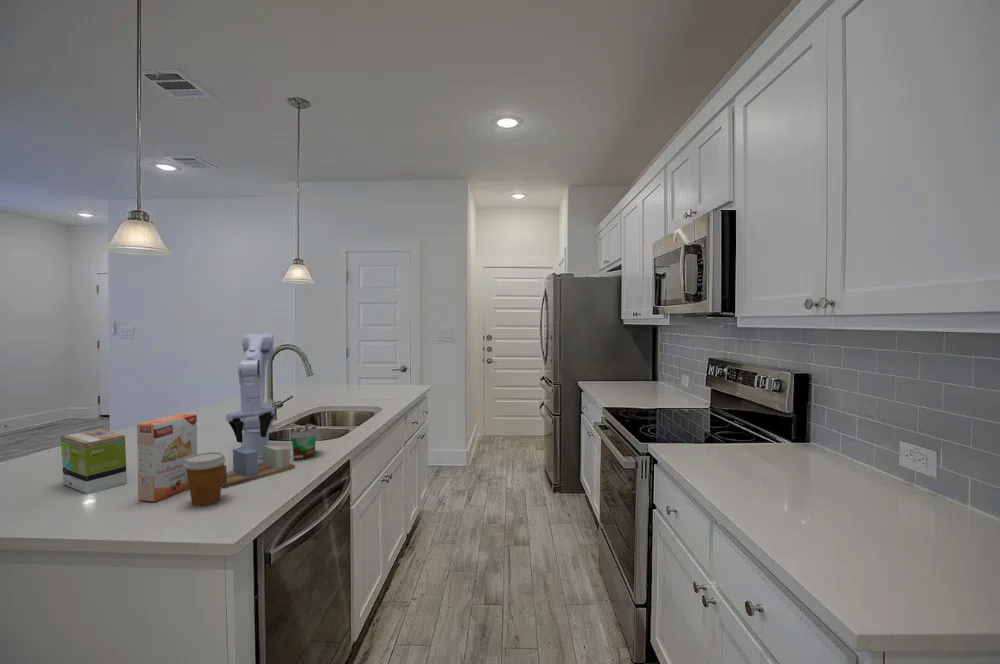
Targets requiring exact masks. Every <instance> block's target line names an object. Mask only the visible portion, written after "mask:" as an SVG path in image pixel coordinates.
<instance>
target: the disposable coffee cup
mask: <svg viewBox="0 0 1000 664" xmlns="http://www.w3.org/2000/svg"><path fill="white" fill-rule="evenodd" d="M226 461H227V457H225V455H224V453H223V452H219V451H211V452H202V453H197V454H196V455H193V456H190V457H188V458H186V461H185V463H184V467H185V468H186V472H187V477H188V482H189V488H188V489H189V494H190V500H191V504H192V505H193V506H195V505H198V506H197V507H200V506H199V505H205V506H209V505H208V504H210V505H213V504H216V503H218V502H219V501H220V500H221V492H222V488H221V485H222V476H223V467H224V465H225V462H226ZM218 500H219V501H218ZM217 501H218V502H217ZM215 502H216V503H215ZM212 503H213V504H212Z"/></svg>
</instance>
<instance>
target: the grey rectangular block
mask: <svg viewBox="0 0 1000 664" xmlns="http://www.w3.org/2000/svg"><path fill="white" fill-rule="evenodd" d="M232 464H233V465H232V467H233V468H232V469H233V472H235V473H237V474H240V475H242V476H245V477H249V476H253V475H256V474H258V465H259V458H258V451H255V450H252V449H249V448H246V447H242V448H241V447H238V448H232Z"/></svg>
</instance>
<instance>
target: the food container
mask: <svg viewBox="0 0 1000 664" xmlns="http://www.w3.org/2000/svg"><path fill="white" fill-rule="evenodd" d="M318 433H319V431H318V427H317V425H315V424H311V423H306V424H305V427H303V428H300V429H298V430H297V431H291V435H290V439H291V440H292V441H291V443H292V454H293V458H292V459H293V461H303V459H304V460H308V458H309V459H312V458H314V457H315V456H316V440H317V439H316V438H317V434H318ZM314 455H315V456H314ZM313 456H314V457H313ZM311 457H312V458H311Z"/></svg>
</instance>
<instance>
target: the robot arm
mask: <svg viewBox="0 0 1000 664" xmlns="http://www.w3.org/2000/svg"><path fill="white" fill-rule="evenodd" d="M241 341H242V342H241V343H242V350H243V356H242V360H241V361H238V362H237V363H238V364H237V374H238V382H239V384H240V411H236V412H232V413H228V414H225V421H227V423H228V424H229V426H230V427H231V429H232V431H233V434H234V435H235V439H236V440H235V441H236V442H237V443H239V444H240V448H242V447H246V448H249V449H252V450H255V451H258V459H263V446H265V445H270V443H269V442H270V441H269V437H270V436H269V430H270V429H271V428H272V427H273V426H274V425H273V421H274V420H273V419H274V415H273V414H275V407H273V406H271V405H270V404H268V402H267V403H266V402H265V389H266V388H265V385H266V366H267V363H268V360H270V359H271V358H273V355H274V344H275V343H274V341H275V340H274V334H272V333H270V332H269V333H243V335H242V339H241Z"/></svg>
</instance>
